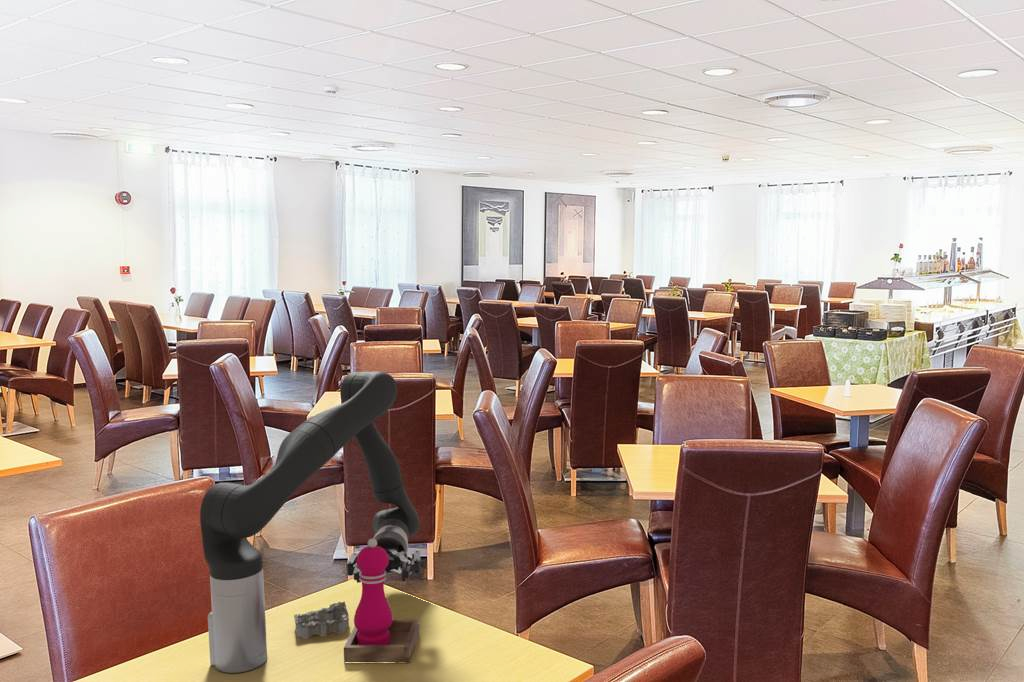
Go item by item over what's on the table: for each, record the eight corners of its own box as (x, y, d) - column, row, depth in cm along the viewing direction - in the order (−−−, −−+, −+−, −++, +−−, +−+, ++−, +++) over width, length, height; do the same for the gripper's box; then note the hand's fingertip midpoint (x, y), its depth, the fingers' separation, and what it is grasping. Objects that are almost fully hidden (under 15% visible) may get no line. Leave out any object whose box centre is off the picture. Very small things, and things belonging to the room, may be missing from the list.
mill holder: (344, 663, 154) (343, 647, 154) (358, 634, 166) (357, 619, 166) (409, 663, 154) (409, 647, 153) (419, 634, 166) (418, 619, 165)
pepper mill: (385, 652, 156) (384, 545, 154) (348, 648, 157) (346, 543, 156) (397, 635, 163) (396, 534, 161) (362, 632, 164) (361, 532, 163)
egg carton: (348, 619, 174) (347, 600, 174) (350, 634, 167) (349, 614, 166) (294, 625, 171) (294, 606, 171) (294, 641, 164) (293, 621, 164)
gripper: (354, 531, 175) (342, 559, 159) (422, 529, 176) (418, 556, 160) (355, 566, 176) (343, 597, 160) (424, 564, 177) (419, 594, 160)
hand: (381, 576), depth 160 cm, fingers open, 8 cm apart
